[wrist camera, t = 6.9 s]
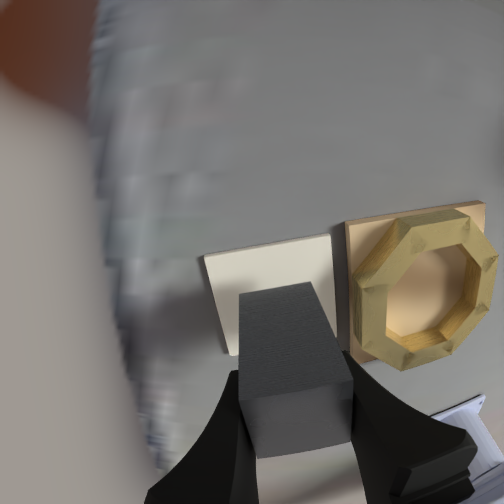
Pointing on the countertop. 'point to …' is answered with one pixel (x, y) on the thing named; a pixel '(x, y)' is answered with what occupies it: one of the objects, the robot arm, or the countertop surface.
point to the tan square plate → (411, 275)
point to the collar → (396, 264)
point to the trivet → (270, 276)
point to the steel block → (291, 373)
